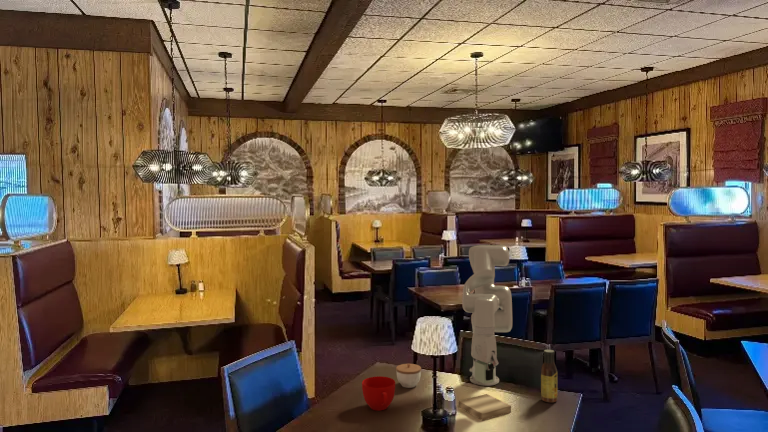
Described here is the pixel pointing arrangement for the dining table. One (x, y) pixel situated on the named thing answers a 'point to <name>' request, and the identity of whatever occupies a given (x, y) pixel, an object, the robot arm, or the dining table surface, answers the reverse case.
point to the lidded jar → (408, 375)
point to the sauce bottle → (549, 378)
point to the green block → (481, 372)
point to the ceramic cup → (378, 392)
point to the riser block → (484, 406)
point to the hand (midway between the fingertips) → (484, 377)
